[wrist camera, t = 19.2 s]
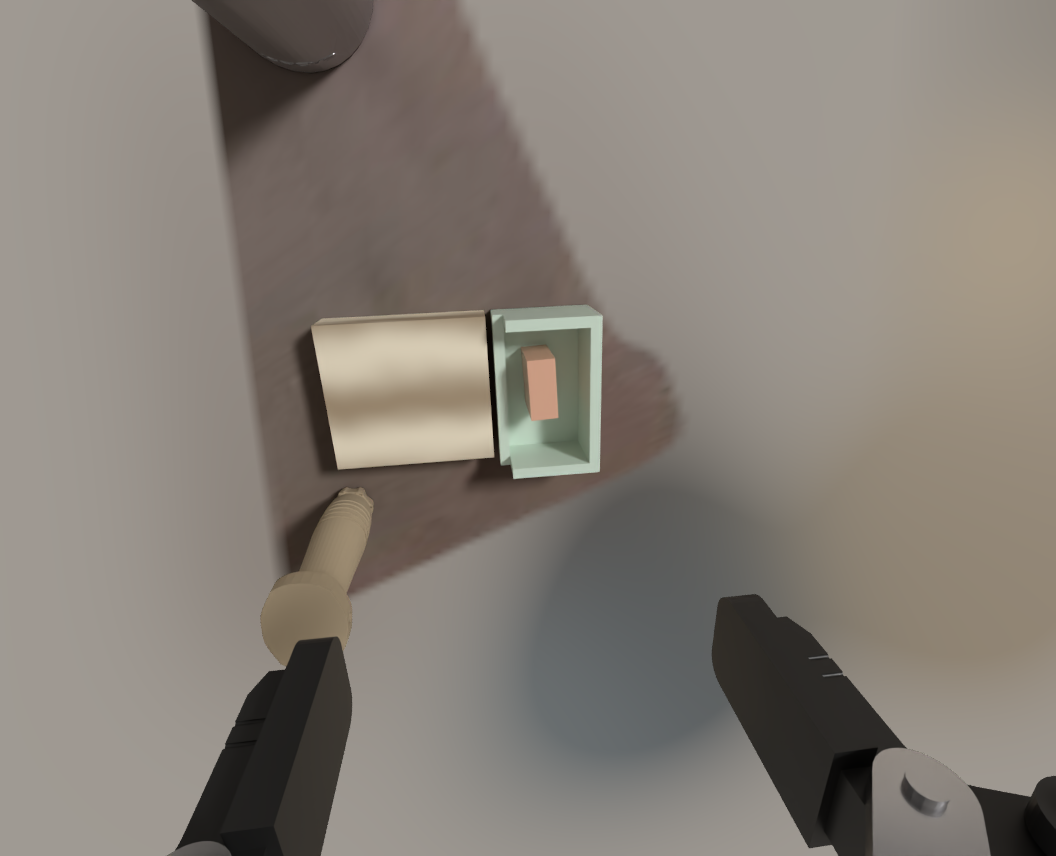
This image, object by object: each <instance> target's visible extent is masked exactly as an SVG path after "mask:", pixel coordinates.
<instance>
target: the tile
mask: <svg viewBox="0 0 1056 856" xmlns="http://www.w3.org/2000/svg"><path fill="white" fill-rule="evenodd" d="M521 357H522V370H523V382H524V394H525V403H526V406H527V409H528V412H529V415H530V418H531V421H536V420H546V419H555V418H558V401H557V383H556V365H555V357H554V356H553V354H552V353H551V351H550V350H549V348H548V347H547V345H546V344H545V345H535V346H525V347H521Z"/></svg>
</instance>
